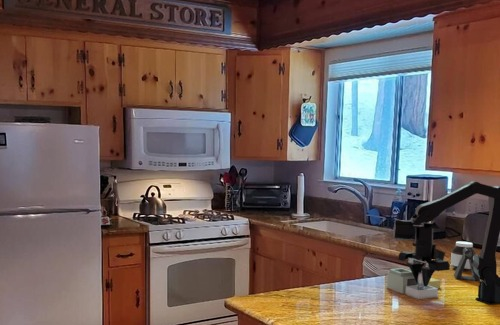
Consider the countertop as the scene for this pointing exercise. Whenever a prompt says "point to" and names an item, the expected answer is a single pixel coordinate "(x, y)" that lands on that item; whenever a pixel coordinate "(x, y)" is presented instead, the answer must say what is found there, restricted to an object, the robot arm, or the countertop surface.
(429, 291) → the tray
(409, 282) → the grey-green hollow stepped block
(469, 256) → the phone stand
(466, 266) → the spread jar
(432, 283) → the chock
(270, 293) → the countertop surface
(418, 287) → the pin
